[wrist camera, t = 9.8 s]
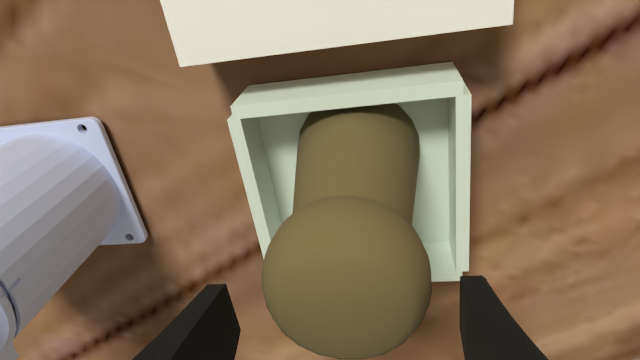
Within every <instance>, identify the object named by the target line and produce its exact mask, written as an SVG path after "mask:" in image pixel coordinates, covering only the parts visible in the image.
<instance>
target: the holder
mask: <svg viewBox="0 0 640 360" xmlns="http://www.w3.org/2000/svg"><path fill="white" fill-rule="evenodd" d="M160 2H161V5H162V8H163V12H164V15H165V18H166V22H167V25H168V28H169V32H170V35H171V38H172V42H173V45H174V48H175V52H176V55H177V58H178V62H179V65H180V67H184V66H192V65H200V64H207V63H215V62H223V61H231V60H239V59H247V58H254V57H262V56H270V55H278V54H286V53H293V52H301V51H309V50H317V49H325V48H332V47H340V46H348V45H356V44H364V43H371V42H379V41H387V40H395V39H403V38H411V37H418V36H426V35H434V34H442V33H450V32H457V31H465V30H473V29H481V28H489V27H496V26H504V25H512V24H513V11H514V0H160Z"/></svg>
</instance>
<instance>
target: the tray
mask: <svg viewBox="0 0 640 360" xmlns="http://www.w3.org/2000/svg"><path fill="white" fill-rule="evenodd" d="M389 103H396V104H398V105H399V106H400V107H401V108H402V109H403V110H404V111H405V112H406V113H407V115H408V116H409V117H410V118H411V119H412V121H413V123H414V126H415V128H416V130H417V133H418V135H419V147H420V157H419V166H418V175H417V184H416V193H415V201H414V210H413V219H412V226H413V227H414V229H415V231H416V232H417V234H418V236H419V237H420V239H421V242H422V244H423V246H424V248H425V250H426V252H427V254H428V257H429V261H430V267H431V281H432V282H442V281H460V276H462V272H463V271H469V227H470V161H471V93H470V92H469V90H468V88H467V86H466V85H465V83H464V81H463V79H462V77H461V76H460V74H459V72H458V70H457V69H456V67H455V65H454V64H453V62H445V63H436V64H428V65H419V66H411V67H402V68H394V69H385V70H377V71H368V72H359V73H351V74H342V75H334V76H325V77H317V78H308V79H300V80H291V81H282V82H274V83H265V84H257V85H248V86H247V88H246V89H245V90H244V91H243V92H242V93H241V95H240V96H239V97H238V98H237V99H236V100H235V101H234V103H233V104H232V105H231V106H230V107H231V111H232V115H231V116H230V117H229V118H228V120H227V122H228V126H229V129H230V133H231V137H232V141H233V145H234V148H235V152H236V156H237V160H238V163H239V167H240V171H241V175H242V179H243V182H244V186H245V190H246V194H247V197H248V201H249V205H250V209H251V213H252V216H253V220H254V224H255V228H256V231H257V235H258V239H259V243H260V247H261V250H262V254H263V258H264V257H265V254H266V251H267V248H268V246H269V244H270V242H271V240H272V239H273V237H274V235H275V234H276V232H277V230H278V228H279V227H280V225H281V224H282V223H283V222H284V221H285V220H286V219H287V218H288V217H289V216H290V215H292V212H293V199H294V186H295V173H296V160H297V147H298V141H299V134H300V129H301V128H302V126H303V124H304V122H305V120H306V118H307V117H308V115H309V114H310V113H311V112H312V111H321V110H331V109H341V108H350V107H360V106H370V105H379V104H389Z"/></svg>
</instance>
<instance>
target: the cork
mask: <svg viewBox="0 0 640 360" xmlns="http://www.w3.org/2000/svg"><path fill="white" fill-rule="evenodd" d="M419 157H420V147H419V135H418V133H417V130H416V128H415V126H414V123H413V121H412V119H411V118H410V117H409V116H408V115H407V113H406V112H405V111H404V110H403V109H402V108H401V107H400V106H399V105H398V104H396V103H389V104H379V105H370V106H360V107H350V108H341V109H331V110H321V111H312V112H311V113H310V114H309V115H308V117H307V118H306V120H305V122H304V124H303V126H302V128H301V129H300V134H299V141H298V147H297V160H296V173H295V186H294V199H293V212H292V215H290V216H289V217H288V218H287V219H286V220H285V221H284V222H283V223H282V224H281V225H280V227H279V228H278V230H277V232H276V234H275V235H274V237H273V239H272V240H271V242H270V244H269V246H268V248H267V251H266V254H265V257H264V264H263V272H262V290H263V294H264V298H265V301H266V305H267V308H268V310H269V312H270V314H271V316H272V318H273V319H274V321H275V322H276V324H277V325H278V327H279V328H280V329H281V331H282V332H283V333H284V334H285V335H286V336H287V337H289V338H290V339H291V340H292V341H294V342H295V343H296V344H298V345H299V346H301V347H303V348H305V349H307V350H310V351H312V352H314V353H316V354H318V355H323V356H327V357H332V358H337V359H366V358H370V357H375V356H379V355H383V354H385V353H387V352H389V351H391V350H393V349H395V348H397V347H398V346H400V345H402V344H403V343H404V342H405V341H406V340H407V339H408V337H409V336H410V335H411V334H412V333H413V332H414V331H415V330H416V329H417V327H418V326H419V325H420V324H421V322H422V320H423V318H424V315H425V313H426V310H427V308H428V306H429V302H430V297H431V293H432V281H431V267H430V261H429V257H428V254H427V252H426V250H425V248H424V246H423V244H422V242H421V239H420V237H419V236H418V234H417V232H416V231H415V229H414V227H413V226H412V219H413V210H414V201H415V193H416V184H417V175H418V166H419Z"/></svg>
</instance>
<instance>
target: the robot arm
mask: <svg viewBox="0 0 640 360" xmlns="http://www.w3.org/2000/svg"><path fill="white" fill-rule="evenodd" d="M82 125H84V126H85V127H86V128H87V130H85V129H83V127H82ZM129 234H131V235H132V236H133V237H132V236H130V235H129ZM147 237H148V234H147V231H146V229H145V226H144V224H143V221H142V219H141V216H140V214H139V211H138V209H137V207H136V204H135V202H134V199H133V197H132V194H131V192H130V189H129V187H128V185H127V182H126V180H125V177H124V175H123V172H122V170H121V167H120V165H119V163H118V160H117V158H116V155H115V153H114V150H113V148H112V145H111V143H110V141H109V138H108V136H107V133H106V131H105V128H104V126H103V124H102V122H101V121H100V120H99V119H98V118H95V117H83V118H74V119H65V120H56V121H47V122H38V123H29V124H20V125H11V126H2V127H0V360H16V359H17V358H18V353H17V352H16V350H15V348H14V345H13V340H14V339H15V338H16V336H17V335H18V334H19V333H20V332H21V331H22V330H23V329H24V328H25V327H26V325H27V324H28V323H29V322H30V321H31V320H32V319H33V318H34V317H35V315H36V314H37V313H38V312H39V311H40V310H41V309H42V308H43V307H44V305H45V304H46V303H47V302H48V301H49V300H50V299H51V298H52V297H53V295H54V294H55V293H56V292H57V291H58V290H59V289H60V288H61V287H62V285H63V284H64V283H65V282H66V281H67V280H68V279H69V278H70V277H71V275H72V274H73V273H74V272H75V271H76V270H77V269H78V268H79V267H80V265H81V264H82V263H83V262H84V261H85V260H86V259H87V258H88V257H89V255H90V254H91V253H92V252H93V251H94V250H95V249H96V248H97V247H98V245H116V244H134V243H143V242H144V241H145V240H146V239H147ZM240 330H241V329H240V326H239V323H238V320H237V317H236V314H235V311H234V308H233V305H232V302H231V298H230V295H229V292H228V289H227V286H226V284H210V285H207V286H206V287H205V288H204V289H203V290H202V291H201V292H200V293H199V294H198V295H197V296H196V297H195V298H194V299H193V300H192V301H191V302H190V303H189V305H188V306H187V307H186V308H185V309H184V310H183V311H182V312H181V313H180V314H179V315H178V316H177V317H176V318H175V319H174V320H173V321H172V322H171V323H170V324H169V325H168V326H167V327H166V328H165V329H164V330H163V331H162V332H161V333H160V334H159V335H158V336H157V337H156V338H155V339H154V340H153V341H152V342H151V343H150V344H149V345H147V346H146V347H145V348H144V349H143V350H142V351H141V352H140V353H139V354H138V355H137V356H136V357H135V358H134V359H132V360H234V358H235V354H236V350H237V345H238V340H239V335H240ZM460 332H461V338H462V345H463V351H464V356H465V360H548V359H547V357H546V356H545V355H544V354H543V353H542V352H541V351H540V350H539V349H538V347H537V346H536V345H535V344H534V343H533V342H532V341H531V339H530V338H529V337H528V336H527V335H526V333H525V332H524V331H523V330H522V328H521V327H520V326H519V325H518V324H517V322H516V321H515V320H514V319H513V317H512V316H511V315H510V313H509V312H508V311H507V309H506V308H505V307H504V305H503V304H502V303H501V301H500V300H499V298H498V297H497V295H496V294H495V292H494V291H493V289H492V288H491V286H490V285H489V283H488V282H487V280H486V278H484V277H483V276H460Z"/></svg>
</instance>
